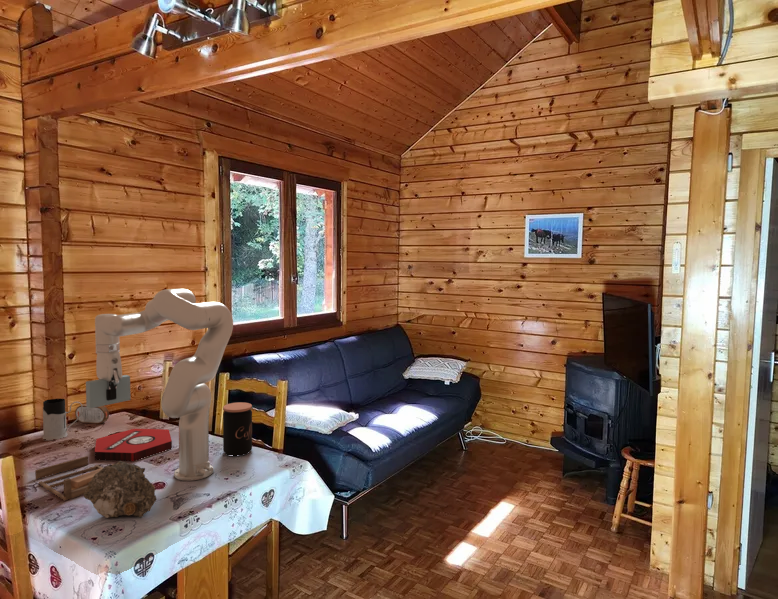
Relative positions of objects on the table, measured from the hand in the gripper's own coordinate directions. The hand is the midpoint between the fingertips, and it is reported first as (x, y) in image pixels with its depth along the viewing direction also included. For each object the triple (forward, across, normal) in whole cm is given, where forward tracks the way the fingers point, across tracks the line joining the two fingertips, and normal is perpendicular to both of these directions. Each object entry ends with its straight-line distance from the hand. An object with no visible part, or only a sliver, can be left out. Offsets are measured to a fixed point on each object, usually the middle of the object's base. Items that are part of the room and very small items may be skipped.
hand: (109, 398), depth 183 cm
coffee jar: (+23, -29, -34) cm, 50 cm away
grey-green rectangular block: (+2, 0, 0) cm, 2 cm away
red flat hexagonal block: (+24, +6, -12) cm, 27 cm away
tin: (+23, +51, -16) cm, 58 cm away
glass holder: (+23, +42, -1) cm, 48 cm away
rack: (+23, -9, +15) cm, 29 cm away
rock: (+23, -43, +14) cm, 51 cm away
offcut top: (+22, -17, +14) cm, 31 cm away
